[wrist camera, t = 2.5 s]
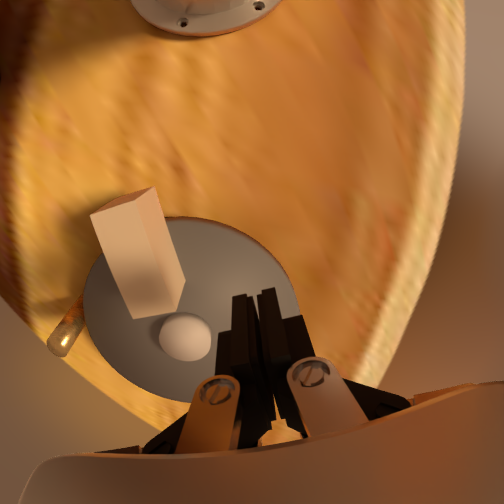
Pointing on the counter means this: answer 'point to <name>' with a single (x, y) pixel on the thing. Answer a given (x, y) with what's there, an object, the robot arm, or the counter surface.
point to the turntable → (171, 291)
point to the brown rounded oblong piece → (67, 330)
